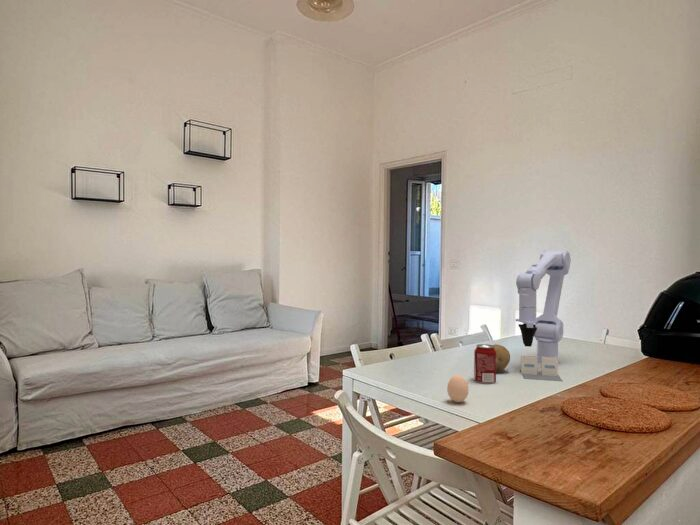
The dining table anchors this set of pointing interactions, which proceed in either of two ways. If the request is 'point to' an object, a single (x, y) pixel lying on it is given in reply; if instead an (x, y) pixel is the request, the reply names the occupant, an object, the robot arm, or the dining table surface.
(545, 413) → the dining table surface
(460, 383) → the egg
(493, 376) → the soda can
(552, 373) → the tile
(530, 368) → the tile
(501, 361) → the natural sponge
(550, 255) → the robot arm
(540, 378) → the mat
